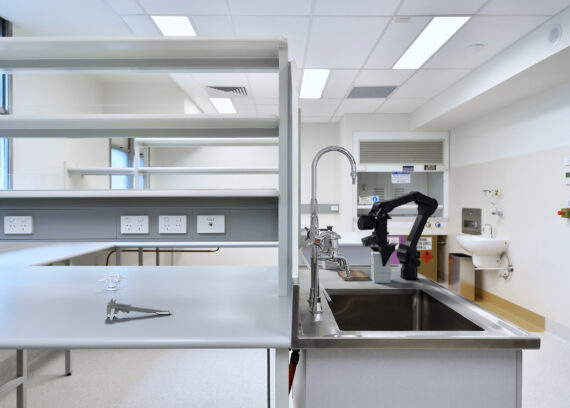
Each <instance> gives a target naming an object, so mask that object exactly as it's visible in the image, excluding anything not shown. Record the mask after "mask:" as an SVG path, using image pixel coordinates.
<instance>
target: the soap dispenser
mask: <svg viewBox="0 0 570 408" xmlns="http://www.w3.org/2000/svg"><path fill="white" fill-rule="evenodd" d="M319 230H320V231H319ZM328 230H330V231H332V232H333V225H326V228H319V229H318V231H319V232H327V231H328ZM321 261H322V260H321ZM321 265H322V266H321V267H322V268H323V269H324V270H338V262H337V263H333V262H329V261H322V263H321Z"/></svg>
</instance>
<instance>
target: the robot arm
mask: <svg viewBox="0 0 570 408" xmlns="http://www.w3.org/2000/svg"><path fill="white" fill-rule="evenodd" d="M412 202H413V203H414V204H416V206H417V207H416V208H417V215H416V218H415V220H414V222H413V225H412V227H411V229H410V231H409V234H408V237H407V239H406V241H405V242H404V243H401V242H400V243H399V244H398V248H397V249H396V246H395V245H394V244H392V243H390V241H388V236H389V235H390V232H389V231H388V220H392V219H393V218H392V217H391V216H390V213H391V212H392V211H393V210H394V209H396V208H399V207H402V206H404V205H407V204H409V203H412ZM438 208H439V202H438V200H437V199H436V198H434V197H430V196H428V195H426V194H424V193H422V192H420V191H418V190H417V191H416V190H415V191H414V190H413V191H410V192H407V193H405V194H402V195H398V196H397V197H393V198H391V199H385V200H377V201H375V202H373V203H372V206H371V209H369V212H368V213H367V214H359V217H358V219H357V221H356V223H357V224H356V226H357V228H358V230H359V231H371V234H370V235H367V236H365V237H362V238H360V240H361V244H362V246H364V247H365V248H367V247H368V248H369V249H371V250H372V252H379V253H380V254H381V259H382V265H383V266H386V264H387V262H388V260H389V258H390V259H391V256H392V254H394V252H395V253H396V258H397V260H398V262H399V264H400V265H401V267H400V275H399V277H400V278H402V279H403V280H405V281H413V280H414V281H415V280H416V281H417V280H418V281H419V280H420V278H419V277H418V274H419V273H418V272H419V271H418V270H419V269H418V268H419V267H420V266H421V263H422V261H420V259H419V258H418V257H417V255H418V247H417V246H418V244H419V241H420V239H421V236H422V234H423V232H424V230H425V227H426V224H427V223H428V220H429V218H431V216H432V215H434V214H435V213H436V211H437V209H438Z"/></svg>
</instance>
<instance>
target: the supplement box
mask: <svg viewBox="0 0 570 408" xmlns="http://www.w3.org/2000/svg"><path fill="white" fill-rule="evenodd" d="M370 280H372V281H371V282H373V284H379V283H380V284H391V257H390V258H389V260H388V262H387V264H386V266H383V265H382V259H381V254H380V253H379V252H373V251H371V252H370Z"/></svg>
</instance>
